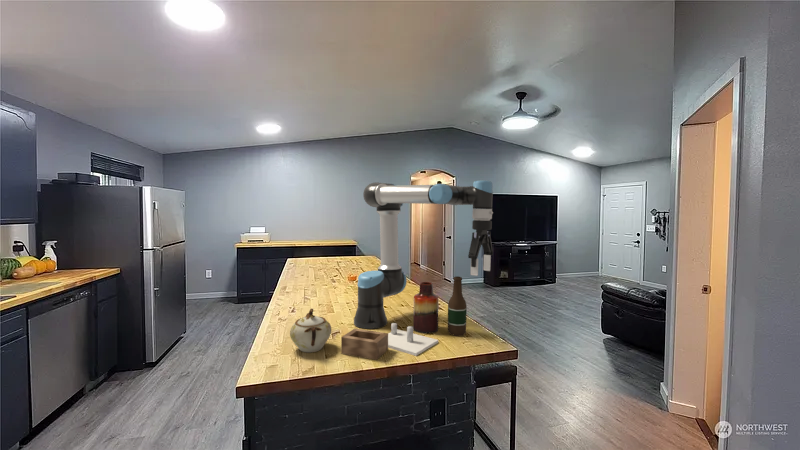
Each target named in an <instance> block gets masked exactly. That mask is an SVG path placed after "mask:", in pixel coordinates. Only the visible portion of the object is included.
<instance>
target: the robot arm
mask: <svg viewBox="0 0 800 450" xmlns="http://www.w3.org/2000/svg"><path fill="white" fill-rule="evenodd" d="M493 195H494V191H493V182H492V181H490V180H474V181H473V185H472V186H470V185H469V186H459V185H450V184H445V183H436V184H412V185H411V184H410V185H409V184H408V185H407V184H406V185H397V184H394V183H387V182H386V183H384V182H370V183H369V184H367V186H365V188H364V190H363V200H364V202H365V204H367V205H368V206H370V207H373V208H376V213H377V214H378V215H379V233H380V235H379V236H380V238H379V239H380V245H379V246H380V265H379V266H378V267H377V270H368V271H364V272H361V273H360V274H359V275H358V277H357V278H358V279H357V309H356V312H355V315H354V318H353V325H354V326H355V327H356V328H358V329H360V328H361V329H364V330H369V329H370V330H371V329H372V330H375V329H380V328H383V327H385V326H386V325H387V324H388V318H387V315H386V310H385V307H384V298H388V297H391V296H396V295H398V294H401V292H404V290H405V289H406V285H407V276H406V274H405V272H404V271H403V268H402V266H401V265H400V263H399V233H398V232H399V228H398V227H399V226H398V225H399V224H398V223H399V222H398V215H399V214H400V213H401V207H402V206H403V205H404V204H417V205H418V204H425V205H428V204H429V205H430V204H431V205H452V206H466V205H467V206H468V205H470V206H472V217H471V218H472V219H473V220H472V221H471V225H472V227H471V228H472V230H475V232H472V235H471V242H470V245H469V246H470V247H469V249H468V250H469V251H468V256H467V257H468V259H470V276H477V277H478V276H479V253H480V251H481V247H482V249H483V252H484V254H483V271H486V272H491V259H492V257H491V256H493V255H494V250H493V243H492V237H491V236H492V232H491V230H492V229H493V227H492V226H493V221H492V219H493V214H494V212H493Z"/></svg>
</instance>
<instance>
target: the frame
mask: <svg viewBox="0 0 800 450" xmlns="http://www.w3.org/2000/svg"><path fill="white" fill-rule="evenodd" d="M388 333H389V332H381V331H376V330H375V331H374V330H369V329H363V328H361V329H360V328H353V329H351V330H350V331H349V332H347V333H345V334H344V335H342V336H341V341H340V342H341V343H340V344H341V345H340V346H341V347H340V349H341V353H340V354H343V355H347V356H353V357H359V358H365V359H369V360H373V361H374V360H376V361H377V360H378V359H379V358H381V357H382V356H383V355H384V354H385V353H386V352H387V351H388V350H389V348H388Z"/></svg>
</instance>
